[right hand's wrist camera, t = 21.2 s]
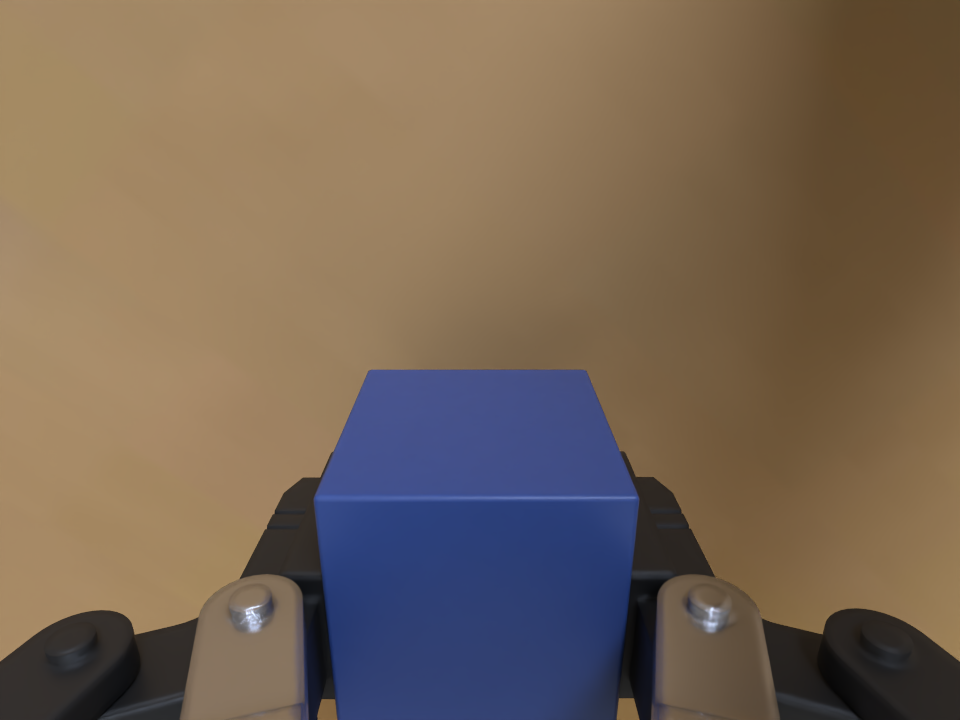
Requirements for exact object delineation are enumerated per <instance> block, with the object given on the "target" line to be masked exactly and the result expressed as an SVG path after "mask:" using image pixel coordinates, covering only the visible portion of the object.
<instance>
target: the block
mask: <svg viewBox="0 0 960 720" xmlns="http://www.w3.org/2000/svg"><path fill="white" fill-rule="evenodd" d="M638 508H639V496H638V494H637V491H636V489H635V487H634V484H633V482H632V479H631V477H630V475H629V472H628V470H627V467H626V465H625V463H624V460H623V458H622V455H621V453H620V451H619V448H618V446H617V443H616V441H615V439H614V436H613V434H612V431H611V429H610V427H609V424H608V422H607V419H606V417H605V415H604V412H603V410H602V407H601V405H600V403H599V400H598V398H597V395H596V393H595V391H594V388H593V386H592V383H591V381H590V379H589V376H588V374H587V371H585V370H370V371H368V373H367V376H366V378H365V380H364V383H363V385H362V387H361V390H360V392H359V394H358V397H357V399H356V401H355V404H354V406H353V408H352V410H351V413H350V415H349V417H348V420H347V422H346V424H345V427H344V429H343V431H342V434H341V436H340V438H339V441H338V443H337V445H336V448H335V450H334V452H333V455H332V457H331V459H330V461H329V464H328V466H327V468H326V471H325V473H324V475H323V478H322V480H321V482H320V485H319V487H318V489H317V492H316V494H315V496H314V509H315V518H316V527H317V536H318V545H319V555H320V564H321V573H322V582H323V591H324V601H325V610H326V619H327V628H328V637H329V647H330V656H331V665H332V674H333V683H334V693H335V702H336V711H337V720H617V710H618V701H619V691H620V681H621V672H622V662H623V652H624V643H625V633H626V624H627V614H628V604H629V595H630V585H631V576H632V566H633V556H634V547H635V537H636V528H637V518H638Z"/></svg>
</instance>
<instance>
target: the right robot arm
mask: <svg viewBox="0 0 960 720" xmlns="http://www.w3.org/2000/svg"><path fill="white" fill-rule="evenodd" d="M620 453H621V455H622V458H623V460H624V463H625V465H626V467H627V470H628V472H629V475H630V477H631V479H632V482H633V484H634V487H635V489H636V491H637V494H638V496H639V508H638V518H637V528H636V537H635V547H634V556H633V566H632V576H631V585H630V595H629V604H628V614H627V624H626V633H625V643H624V652H623V662H622V672H621V681H620V691H619V698H634V700H635V704H636V707H637V711H638V715H639V719H640V720H960V662H959V661H958V660H957V659H956V658H954V657H953V656H952V655H950V654H949V653H948V652H946V651H945V650H944V649H943V648H941V647H940V646H939V645H937V644H936V643H935V642H934V641H932V640H931V639H930V638H928V637H927V636H926V635H924V634H923V633H922V632H920V631H919V630H917V629H916V628H914V627H913V626H911V625H909V624H907V623H906V622H904V621H902V620H900V619H897V618H895V617H893V616H890V615H887V614H884V613H881V612H877V611H873V610H867V609H857V608H855V609H845V610H840V611H838V612H835V613H834V614H832V615H831V616H830V617H829V618H828V619H827V621H826V624H825V627H824V631H823V635H822V634H818V633H814V632H809V631H805V630H801V629H796V628H792V627H788V626H784V625H780V624H776V623H772V622H769V621H767V620H764V619H762V618H761V615H760V611H759V609H758V607H757V606H756V604H755V603H754V602H753V600H752V599H751V598H750V597H749V596H748V595H747V594H746V593H745V592H743V591H742V590H740V589H739V588H737V587H736V586H734V585H732V584H730V583H728V582H726V581H724V580H721V579H718V578H715V576H714V574H713V572H712V570H711V568H710V566H709V564H708V562H707V560H706V558H705V556H704V554H703V552H702V550H701V548H700V546H699V544H698V542H697V540H696V538H695V536H694V534H693V532H692V530H691V529H689V524H688V522H687V521H686V519H685V517H684V515H683V514H681V509H680V507H679V505H678V503H677V501H676V499H675V497H674V495H673V493H672V492H671V491H670V490H669V489H667V488H666V487H665V486H664V485H662V484H661V483H660V482H659V481H657V480H656V479H655V478H654V477H636V476H635V474H634V472H633V469H632V467H631V465H630V462H629V460H628V458H627V455H626V453H625V452H624V451H620ZM332 455H333V452H332V453H331V455H330V457H329V459H328V461H327V464H326V466H325V468H324V471H323V473H322V475H321V477H320V478H302V479H301V480H300V481H298V482H297V483H296V484H295V485H293V486H292V487H291V488H290V489H288V490H287V491H286V492H285V493H284V494H283V496H282V498H281V500H280V502H279V504H278V506H277V508H276V509H275V514H273V515H272V517H271V519H270V521H269V523H268V525H267V529H265V531H264V533H263V535H262V537H261V539H260V541H259V542H258V544H257V546H256V548H255V550H254V552H253V554H252V556H251V558H250V560H249V562H248V564H247V566H246V568H245V570H244V572H243V574H242V575H241V577H240V579H239V580H236V581H234V582H232V583H230V584H228V585H226V586H224V587H222V588H221V589H220V590H218V591H217V592H215V593H214V594H213V595H212V596H211V597H210V598H209V599H208V600H207V602H206V603H205V604H204V606H203V607H202V609H201V611H200V615H199V617H198V618H196V619H193V620H191V621H188V622H186V623H182V624H179V625H175V626H171V627H167V628H162V629H158V630H154V631H150V632H145V633H141V634H137V635H135V634H134V630H133V627H132V623H131V622H130V620H129V619H128V618H127V617H126V616H124V615H123V614H120V613H118V612H114V611H105V610H99V611H90V612H84V613H80V614H76V615H73V616H70V617H67V618H65V619H62V620H60V621H58V622H56V623H54V624H52V625H50V626H48V627H46V628H45V629H43V630H41V631H40V632H39V633H37V634H36V635H34V636H33V637H32V638H30V639H29V640H28V641H26V642H25V643H24V644H23V645H21V646H20V647H19V648H17V649H16V650H15V651H14V652H12V653H11V654H10V655H8V656H7V657H6V658H4V659H3V660H2V661H1V662H0V720H318V718H317V714H318V710H319V706H320V703H321V699H335V693H334V683H333V674H332V665H331V656H330V647H329V637H328V628H327V619H326V610H325V601H324V591H323V582H322V573H321V564H320V555H319V545H318V536H317V527H316V518H315V509H314V496H315V494H316V492H317V489H318V487H319V485H320V482H321V480H322V478H323V475H324V473H325V471H326V468H327V466H328V464H329V461H330V459H331V457H332Z"/></svg>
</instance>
